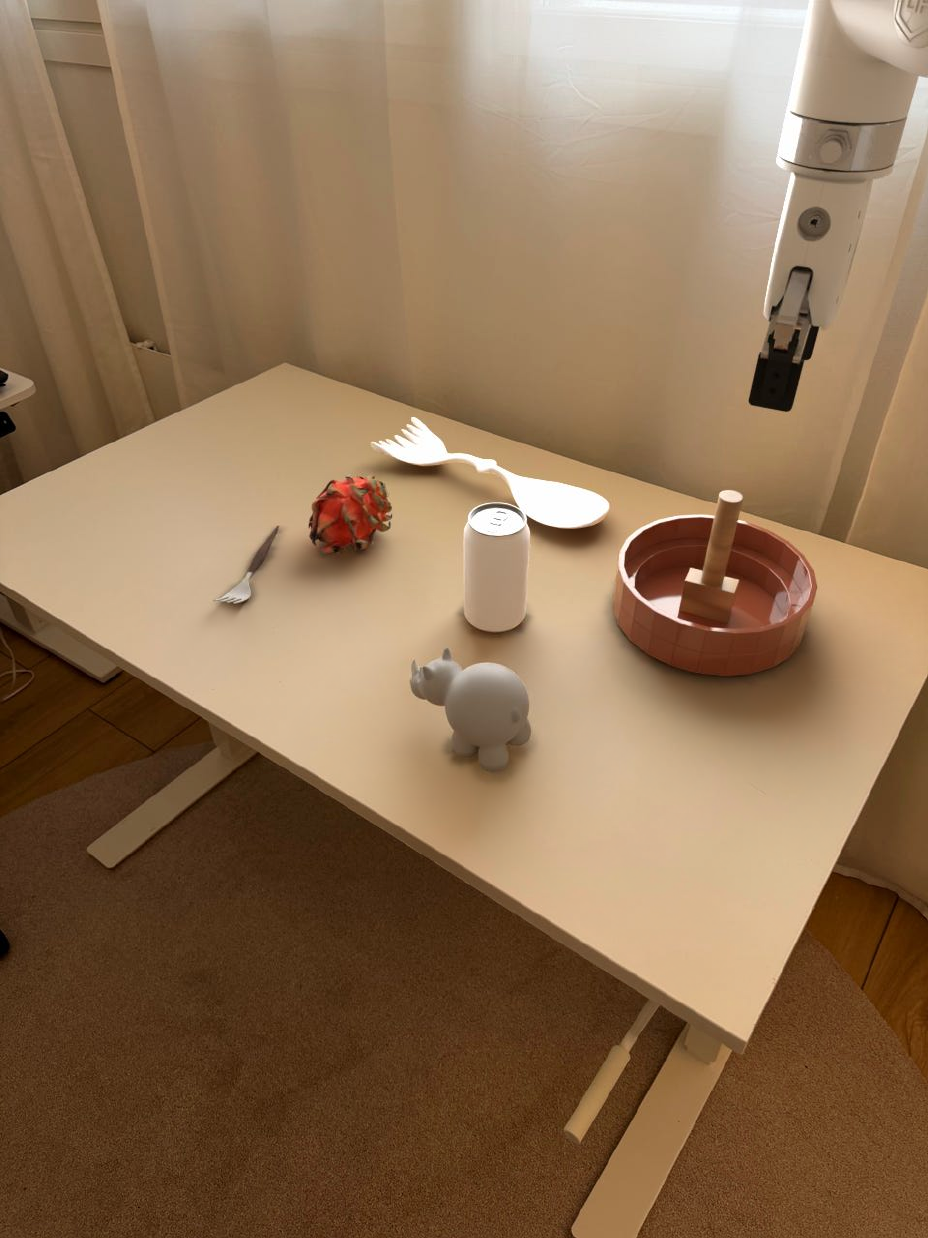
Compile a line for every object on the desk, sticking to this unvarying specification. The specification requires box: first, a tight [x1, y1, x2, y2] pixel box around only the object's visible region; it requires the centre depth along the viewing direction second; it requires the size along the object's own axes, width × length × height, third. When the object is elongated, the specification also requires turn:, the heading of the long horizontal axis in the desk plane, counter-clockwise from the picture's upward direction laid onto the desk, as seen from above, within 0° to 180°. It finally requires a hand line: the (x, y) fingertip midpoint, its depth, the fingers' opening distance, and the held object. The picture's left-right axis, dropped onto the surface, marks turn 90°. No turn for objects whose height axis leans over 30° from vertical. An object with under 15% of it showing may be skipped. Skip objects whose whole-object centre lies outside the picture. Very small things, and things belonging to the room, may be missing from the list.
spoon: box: [370, 416, 610, 529], centre depth 110 cm, size 9×32×4 cm, turn 53°
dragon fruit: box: [308, 473, 393, 554], centre depth 101 cm, size 8×8×12 cm
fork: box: [212, 525, 280, 605], centre depth 98 cm, size 3×16×2 cm, turn 169°
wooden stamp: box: [679, 489, 744, 623], centre depth 88 cm, size 5×2×14 cm, turn 65°
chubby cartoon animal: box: [409, 646, 532, 773], centre depth 78 cm, size 7×12×8 cm, turn 51°
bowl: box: [612, 513, 818, 677], centre depth 91 cm, size 19×19×6 cm
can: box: [462, 502, 531, 634], centre depth 89 cm, size 6×6×12 cm
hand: (780, 380), depth 71 cm, fingers open, 9 cm apart
